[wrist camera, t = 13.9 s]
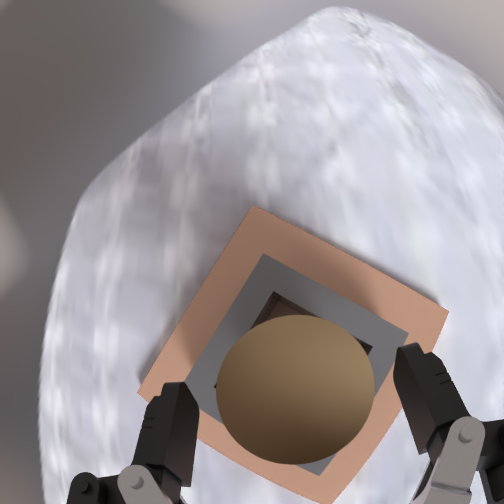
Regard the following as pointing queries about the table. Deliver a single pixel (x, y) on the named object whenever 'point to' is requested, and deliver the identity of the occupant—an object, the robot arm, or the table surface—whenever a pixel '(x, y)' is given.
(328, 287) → the holder
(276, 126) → the table surface
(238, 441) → the tan dome-topped cylinder
